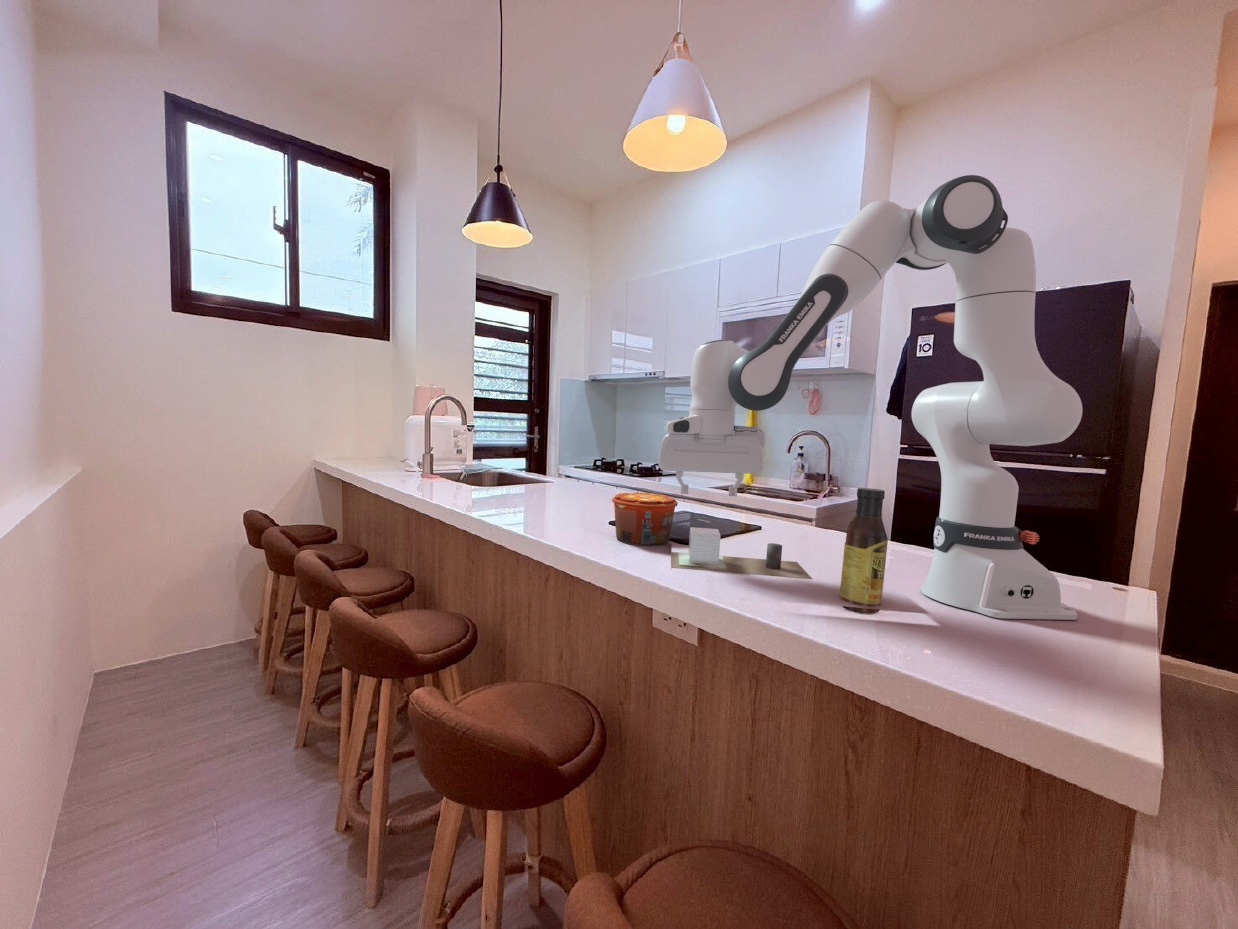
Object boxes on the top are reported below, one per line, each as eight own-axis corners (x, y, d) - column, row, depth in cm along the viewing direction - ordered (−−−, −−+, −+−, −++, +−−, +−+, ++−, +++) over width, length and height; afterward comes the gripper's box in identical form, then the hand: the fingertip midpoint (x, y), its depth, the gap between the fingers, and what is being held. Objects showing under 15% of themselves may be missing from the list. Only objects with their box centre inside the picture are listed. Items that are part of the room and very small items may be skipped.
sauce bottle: (876, 619, 81) (888, 493, 79) (834, 608, 84) (845, 488, 83) (884, 608, 86) (896, 490, 84) (844, 599, 90) (855, 485, 88)
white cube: (715, 558, 105) (717, 529, 105) (718, 565, 100) (720, 535, 99) (688, 555, 106) (690, 527, 106) (689, 563, 100) (691, 532, 100)
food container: (686, 540, 129) (689, 497, 128) (654, 551, 115) (657, 504, 115) (632, 530, 137) (634, 490, 137) (596, 539, 124) (599, 495, 123)
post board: (796, 568, 107) (798, 540, 107) (811, 586, 95) (814, 555, 95) (671, 558, 110) (672, 531, 109) (670, 575, 98) (672, 544, 97)
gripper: (763, 426, 103) (759, 494, 104) (660, 423, 105) (658, 490, 107) (768, 426, 97) (764, 499, 98) (659, 423, 99) (657, 495, 101)
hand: (708, 494), depth 103 cm, fingers open, 8 cm apart
